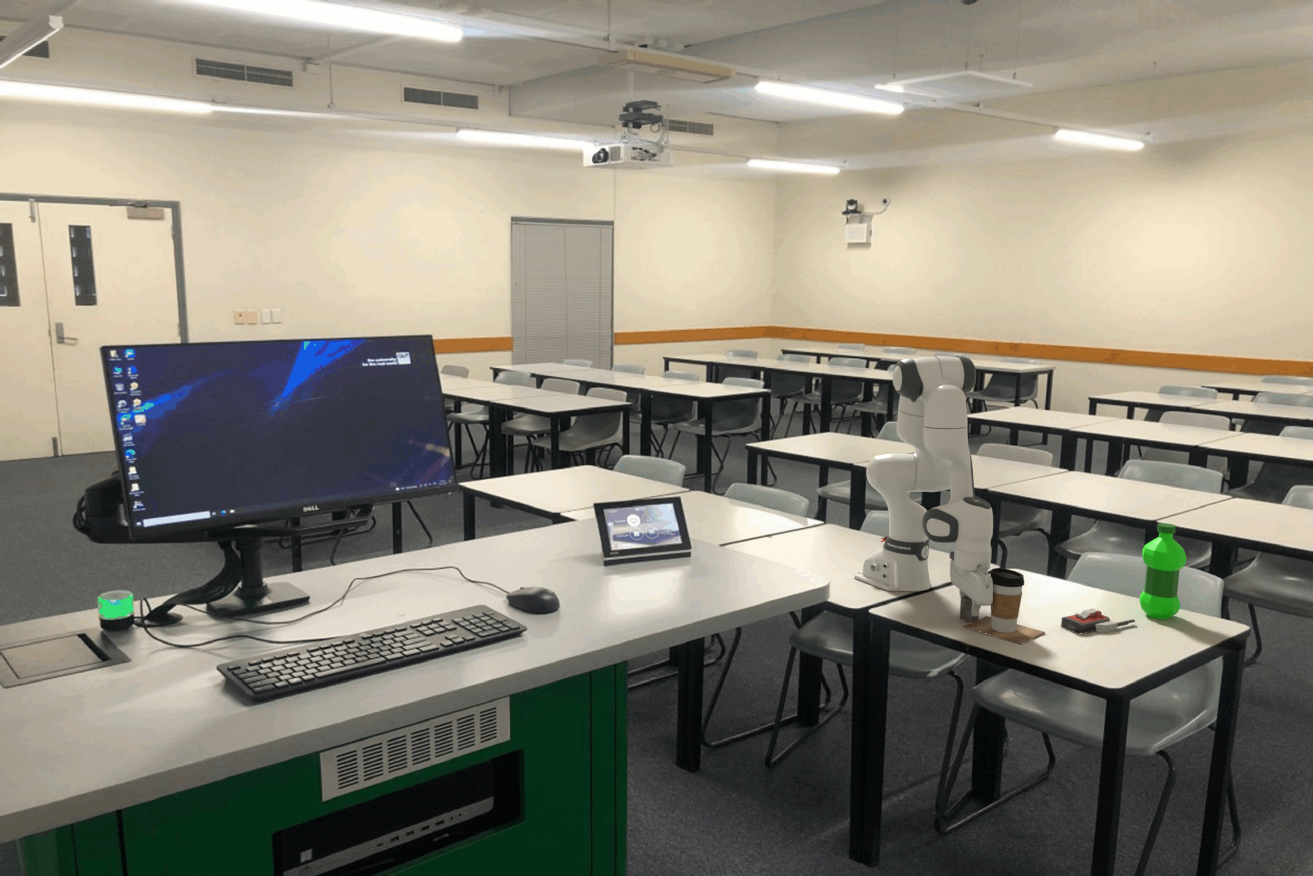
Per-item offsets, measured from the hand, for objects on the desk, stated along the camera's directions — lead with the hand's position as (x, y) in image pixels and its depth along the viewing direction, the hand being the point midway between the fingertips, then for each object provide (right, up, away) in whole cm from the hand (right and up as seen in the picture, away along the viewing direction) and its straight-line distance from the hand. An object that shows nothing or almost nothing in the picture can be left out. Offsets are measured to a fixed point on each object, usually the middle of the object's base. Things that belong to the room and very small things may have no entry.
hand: (969, 611), depth 252 cm
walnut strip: (+5, -3, -5) cm, 8 cm away
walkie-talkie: (+32, -4, -3) cm, 32 cm away
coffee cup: (+6, -4, -7) cm, 10 cm away
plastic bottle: (+52, -3, +5) cm, 52 cm away
